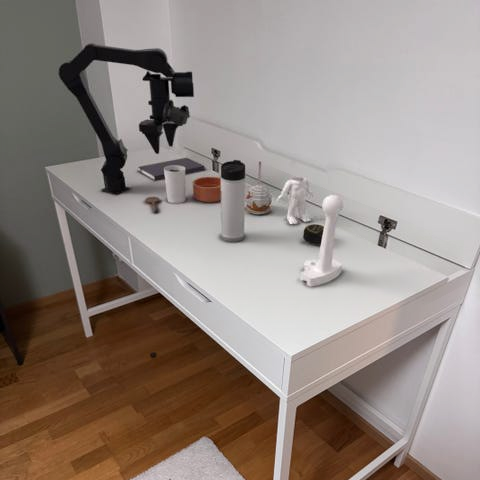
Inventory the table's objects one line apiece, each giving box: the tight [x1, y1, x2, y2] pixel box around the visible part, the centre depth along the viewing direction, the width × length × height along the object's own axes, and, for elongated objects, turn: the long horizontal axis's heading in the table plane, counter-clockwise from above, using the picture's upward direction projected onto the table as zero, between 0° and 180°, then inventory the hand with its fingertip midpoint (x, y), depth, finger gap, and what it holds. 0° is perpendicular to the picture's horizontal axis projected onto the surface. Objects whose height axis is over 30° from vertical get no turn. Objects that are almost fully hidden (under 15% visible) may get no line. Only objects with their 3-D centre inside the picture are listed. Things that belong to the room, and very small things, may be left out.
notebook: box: [138, 157, 206, 181], centre depth 173 cm, size 13×2×21 cm
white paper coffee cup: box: [164, 165, 186, 204], centre depth 146 cm, size 7×7×10 cm
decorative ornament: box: [245, 160, 273, 215], centre depth 139 cm, size 8×8×15 cm
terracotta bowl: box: [192, 176, 221, 203], centre depth 150 cm, size 11×11×5 cm
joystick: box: [300, 194, 344, 288], centre depth 105 cm, size 11×8×20 cm
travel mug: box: [220, 159, 246, 243], centre depth 122 cm, size 6×7×20 cm
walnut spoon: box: [144, 196, 161, 214], centre depth 144 cm, size 12×4×1 cm, turn 15°
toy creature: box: [276, 176, 314, 225], centre depth 134 cm, size 12×6×12 cm, turn 116°
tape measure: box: [302, 223, 324, 246], centre depth 125 cm, size 7×7×4 cm
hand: (164, 149), depth 149 cm, fingers open, 9 cm apart
